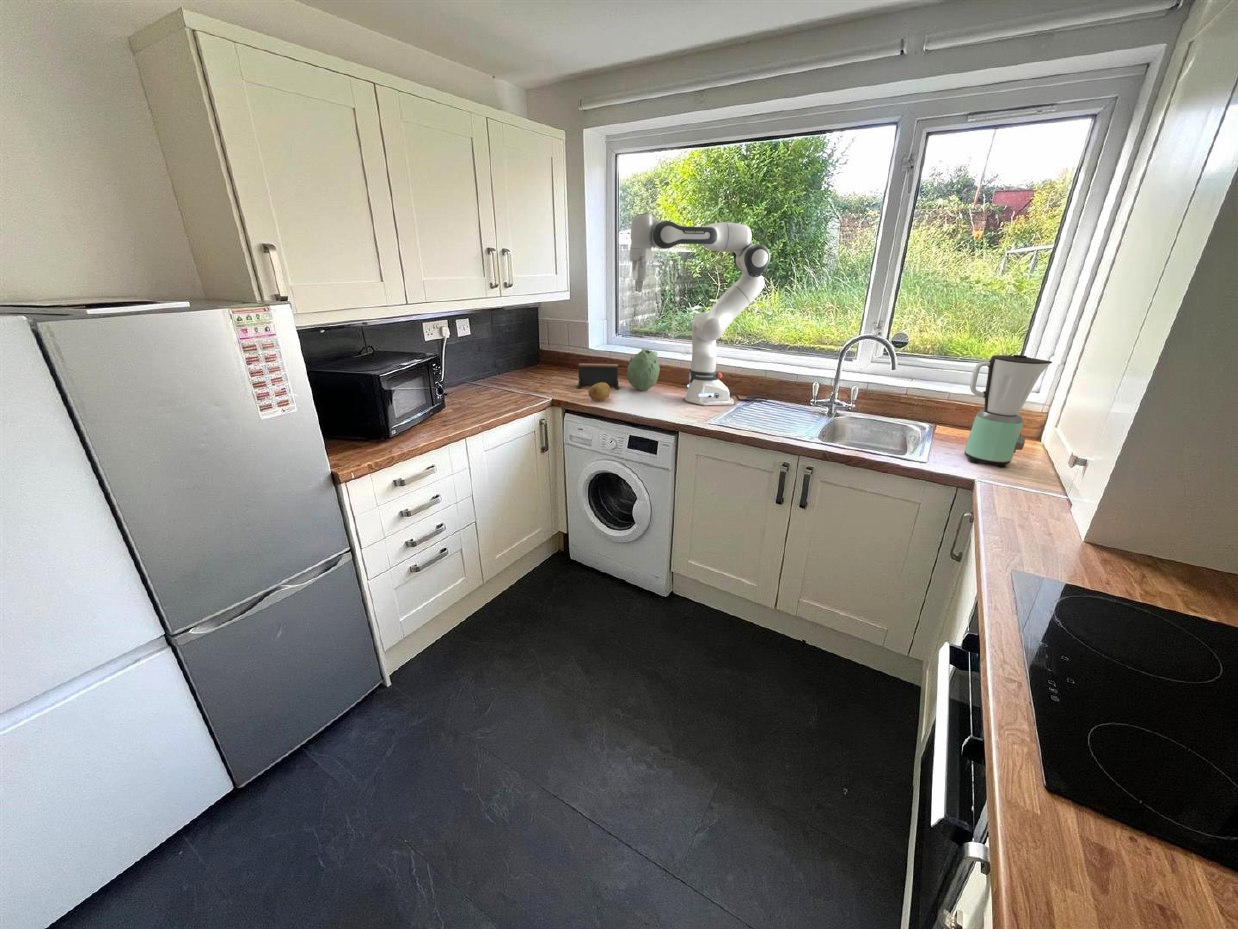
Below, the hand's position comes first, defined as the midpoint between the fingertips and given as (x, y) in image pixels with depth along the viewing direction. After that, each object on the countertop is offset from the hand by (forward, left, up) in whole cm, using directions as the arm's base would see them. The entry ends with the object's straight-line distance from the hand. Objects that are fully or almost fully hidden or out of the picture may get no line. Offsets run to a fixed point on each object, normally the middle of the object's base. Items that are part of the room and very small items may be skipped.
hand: (638, 291), depth 212 cm
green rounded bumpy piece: (-6, -21, -47) cm, 52 cm away
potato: (+16, +2, -47) cm, 50 cm away
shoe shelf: (+16, -25, -47) cm, 56 cm away
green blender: (-111, +75, -47) cm, 142 cm away
